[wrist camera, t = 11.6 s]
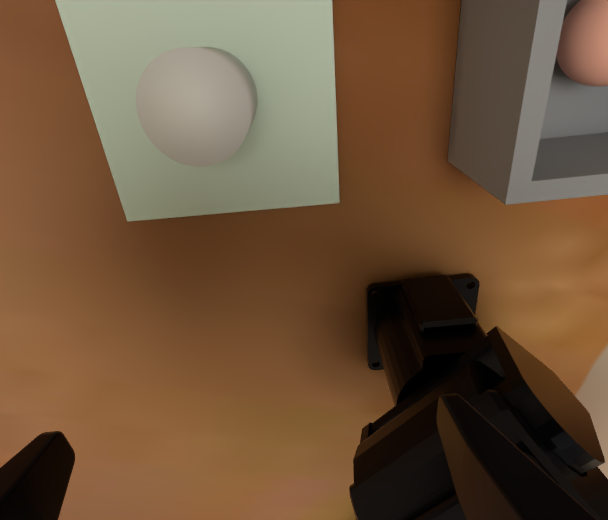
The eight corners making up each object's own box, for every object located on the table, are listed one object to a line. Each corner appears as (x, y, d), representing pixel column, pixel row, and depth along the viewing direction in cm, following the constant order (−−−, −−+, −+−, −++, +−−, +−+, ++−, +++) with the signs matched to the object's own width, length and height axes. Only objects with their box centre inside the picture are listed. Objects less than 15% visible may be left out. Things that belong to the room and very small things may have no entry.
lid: (337, 196, 21) (350, 236, 17) (134, 214, 21) (93, 258, 17) (326, -65, 16) (341, -108, 11) (54, -40, 16) (-36, -72, 11)
